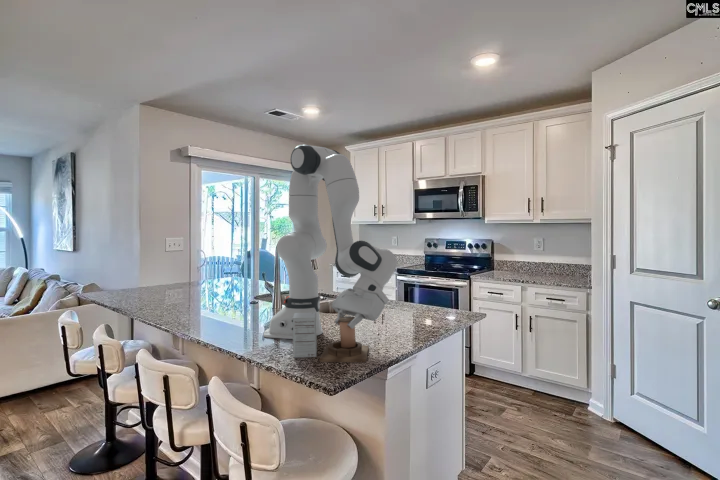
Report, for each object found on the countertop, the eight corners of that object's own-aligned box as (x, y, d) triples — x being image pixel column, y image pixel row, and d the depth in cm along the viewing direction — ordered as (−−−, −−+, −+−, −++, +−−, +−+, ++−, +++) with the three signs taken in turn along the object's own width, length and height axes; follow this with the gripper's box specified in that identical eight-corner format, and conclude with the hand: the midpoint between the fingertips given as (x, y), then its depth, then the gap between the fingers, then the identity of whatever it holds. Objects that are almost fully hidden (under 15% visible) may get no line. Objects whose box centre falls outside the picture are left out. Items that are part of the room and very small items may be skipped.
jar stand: (319, 361, 118) (319, 351, 118) (327, 347, 132) (327, 339, 132) (365, 362, 116) (365, 352, 116) (368, 348, 130) (368, 339, 130)
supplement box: (294, 350, 129) (294, 312, 129) (317, 349, 130) (316, 312, 129) (292, 358, 122) (292, 317, 121) (316, 357, 122) (316, 317, 122)
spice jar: (339, 348, 122) (337, 319, 122) (341, 344, 127) (340, 316, 127) (355, 347, 121) (353, 318, 122) (356, 343, 126) (355, 315, 127)
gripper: (341, 282, 136) (318, 314, 130) (382, 288, 120) (358, 325, 114) (351, 293, 139) (330, 325, 133) (392, 300, 123) (369, 337, 117)
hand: (343, 325), depth 123 cm, fingers closed on spice jar, 5 cm apart
